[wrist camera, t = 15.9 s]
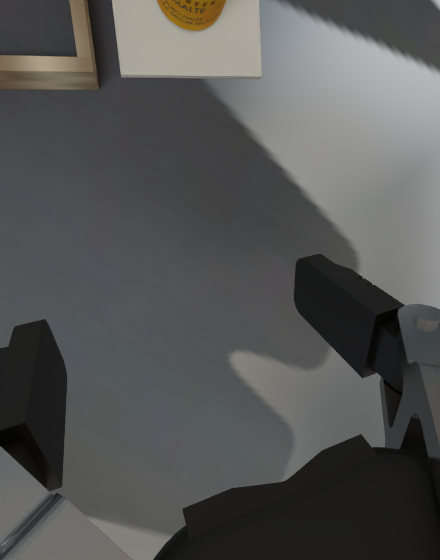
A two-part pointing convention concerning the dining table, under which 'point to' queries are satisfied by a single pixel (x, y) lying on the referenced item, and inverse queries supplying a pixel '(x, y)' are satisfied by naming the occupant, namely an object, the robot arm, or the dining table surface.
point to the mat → (188, 43)
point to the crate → (56, 62)
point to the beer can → (192, 12)
